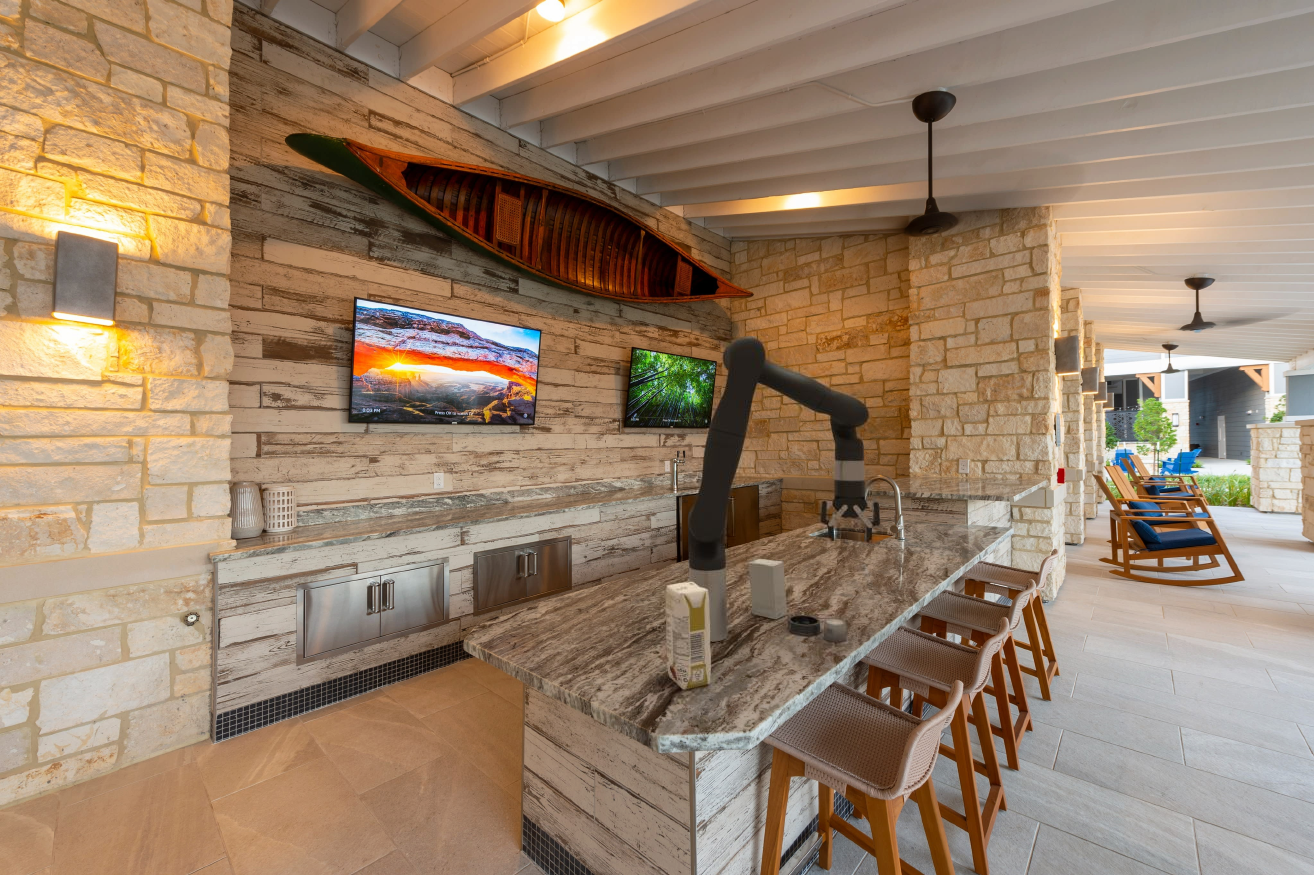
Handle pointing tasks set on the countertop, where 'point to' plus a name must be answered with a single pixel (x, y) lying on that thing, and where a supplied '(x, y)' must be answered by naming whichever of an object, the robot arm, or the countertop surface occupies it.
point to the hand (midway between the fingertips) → (849, 541)
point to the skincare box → (767, 588)
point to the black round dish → (804, 625)
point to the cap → (835, 630)
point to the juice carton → (688, 634)
